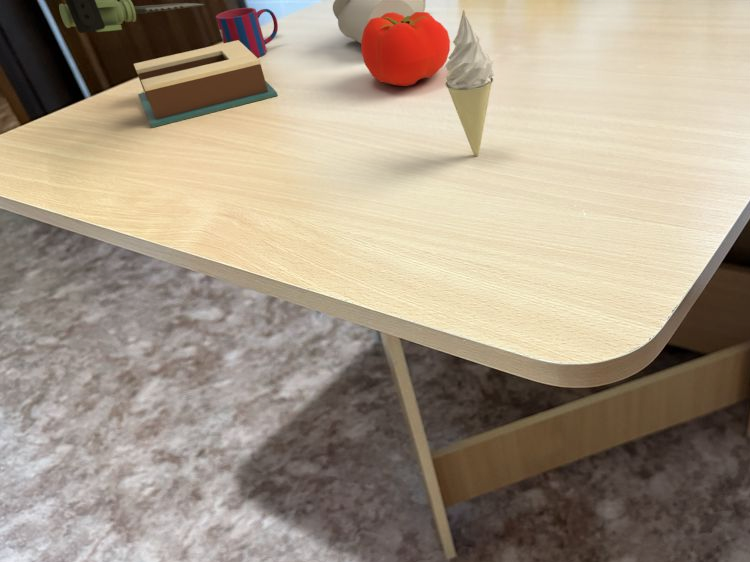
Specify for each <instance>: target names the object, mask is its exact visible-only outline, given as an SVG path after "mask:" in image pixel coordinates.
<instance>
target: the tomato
mask: <svg viewBox="0 0 750 562" xmlns="http://www.w3.org/2000/svg"><path fill="white" fill-rule="evenodd" d="M360 47H361V48H360V49H361V56H362V60H363V63H364V65H365V67H366V68H367V69H368V72H369V73H370V75H371V76H372V77H373V78H374V79H376V80H377V81H378V82H381V83H384V84H389V85H393V86H399V87H408V86H409V87H410V86H412V85H416V83H417V82H418V81H419V80H422V79H423V80H424V79H427V78H432V77H433V76H435V74H437V72H439V71H440V70H441V69H442V67H444V66H445V65H446V63H447V60H448V58H449V55H450V50H451V40H450V36H449V32H448V29H446V28H445V27H444V25H443V24H442V23H441V22H439V21H438V20H436V19H435V18H434V16H433V15H432V14H431V13H429V12H426V11H424V12H415V13H414V14H413V15H411V16H407V17H404V16H403V15H400V14H397V13H386V14H384V15H383V16H381V17H380V18H379V17H378V18H373V19H371V20H370V21H369V22H368V24H367V25H366V27H365V29H364V31H363V36H362V40H361V43H360Z"/></svg>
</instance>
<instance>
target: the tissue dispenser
mask: <svg viewBox="0 0 750 562" xmlns="http://www.w3.org/2000/svg"><path fill="white" fill-rule="evenodd" d="M133 67H134V69H135V72H136V74H137V77H138V79H139V82H140V84H141V87H142V89H143V92H140V93H138V94H137V97H138V98H139V100H140V103H141V106H142V107H143V110H144V113H145V115H146V118H147V120H148V122H149V125H150V128H157V127H161V126H164V125H168V124H172V123H176V122H180V121H184V120H188V119H193V118H196V117H200V116H204V115H208V114H211V113H216V112H220V111H224V110H228V109H231V108H236V107H239V106H244V105H248V104H251V103H255V102H259V101H263V100H268V99H271V98H275V97H278V92H277V91H276V90H275V88H273V87H272V86H271V84H269V83H268V81H267V80H266V78H265V75H264V72H263V67H262V64H261V60H260V59H259V57H258V58H257V57H256V56H255V55H254V54H253V53H252V52H250V51H249V50H248V49H247V48H246V47H245V46H244V45H243V44H242V43H241V42H240V41H239V40H237V41H232V42H228V43H220V44H215V45H210V46H206V47H202V48H198V49H193V50H189V51H184V52H180V53H175V54H171V55H166V56H162V57H158V58H154V59H153V58H152V59H148V60H144V61H140V62H135V63H133Z"/></svg>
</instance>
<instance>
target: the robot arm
mask: <svg viewBox="0 0 750 562" xmlns="http://www.w3.org/2000/svg"><path fill="white" fill-rule="evenodd" d="M64 1H65V4H67V6H68V8H69V11H70V13H71V15H72V18H73V20H74V23H75V25H76V27H75V28H76V29H77V32H78V33H80V34H85V33H90V32H94V31H95V30H100V29H104V28H105V24H104V22H103V19H102V17H101V14H100V12H99V9H98V7H97V4H96V2H95V0H64ZM95 32H96V31H95Z"/></svg>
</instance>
